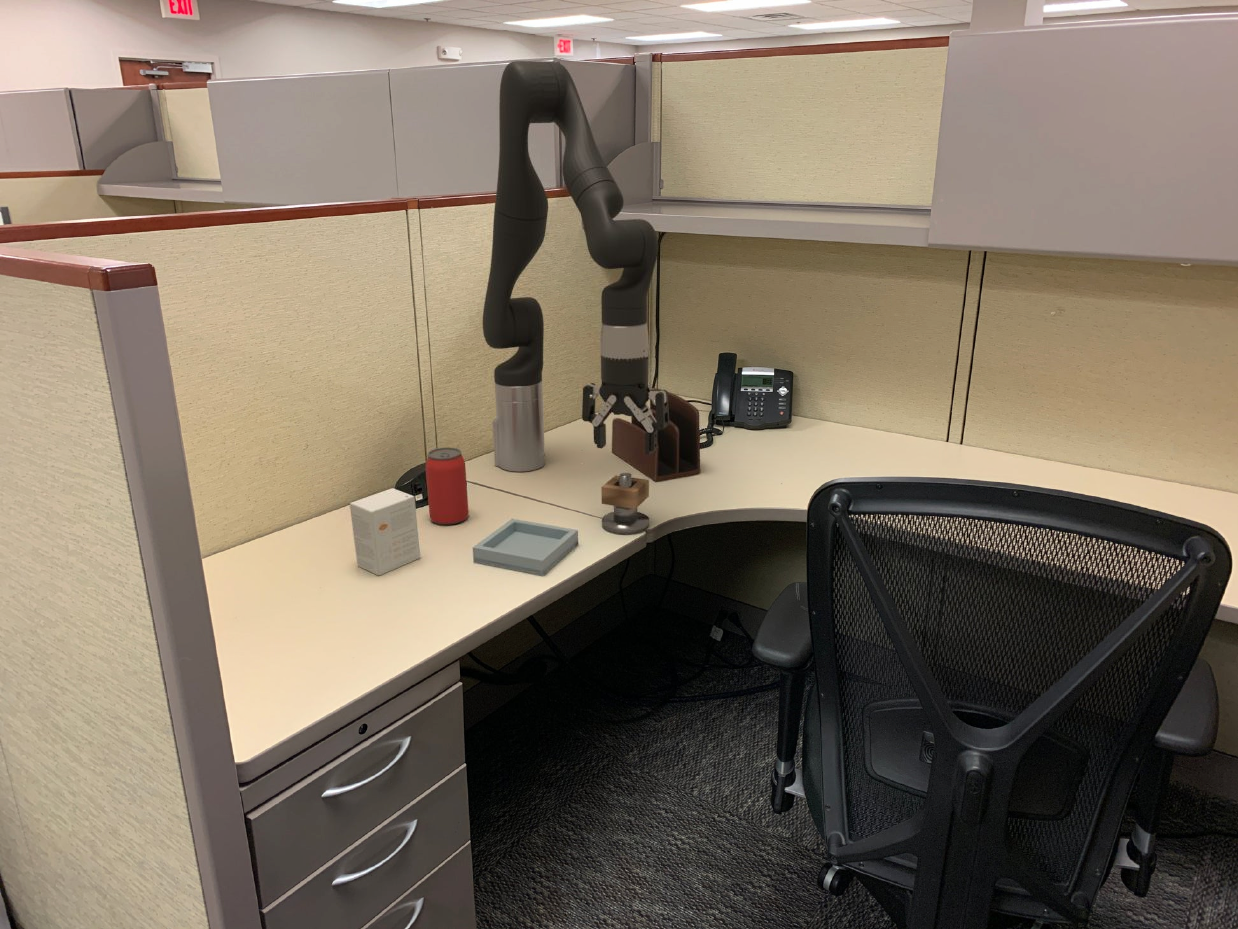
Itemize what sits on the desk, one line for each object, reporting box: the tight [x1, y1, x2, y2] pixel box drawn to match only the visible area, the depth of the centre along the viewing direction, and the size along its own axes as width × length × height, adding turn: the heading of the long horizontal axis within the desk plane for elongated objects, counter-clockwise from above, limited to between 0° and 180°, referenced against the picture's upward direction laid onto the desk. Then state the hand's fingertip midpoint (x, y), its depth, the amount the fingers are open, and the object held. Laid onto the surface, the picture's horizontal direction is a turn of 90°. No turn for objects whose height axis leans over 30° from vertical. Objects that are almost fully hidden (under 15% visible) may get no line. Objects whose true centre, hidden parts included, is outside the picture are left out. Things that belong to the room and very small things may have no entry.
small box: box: [349, 487, 421, 576], centre depth 132 cm, size 8×6×10 cm
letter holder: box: [611, 387, 701, 483], centre depth 173 cm, size 10×20×14 cm, turn 26°
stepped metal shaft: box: [601, 472, 650, 536], centre depth 145 cm, size 8×8×9 cm
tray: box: [472, 518, 579, 577], centre depth 136 cm, size 12×12×2 cm
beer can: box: [425, 446, 470, 526], centre depth 147 cm, size 7×7×12 cm
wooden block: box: [601, 474, 650, 509], centre depth 144 cm, size 6×6×3 cm
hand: (625, 450), depth 142 cm, fingers open, 8 cm apart
